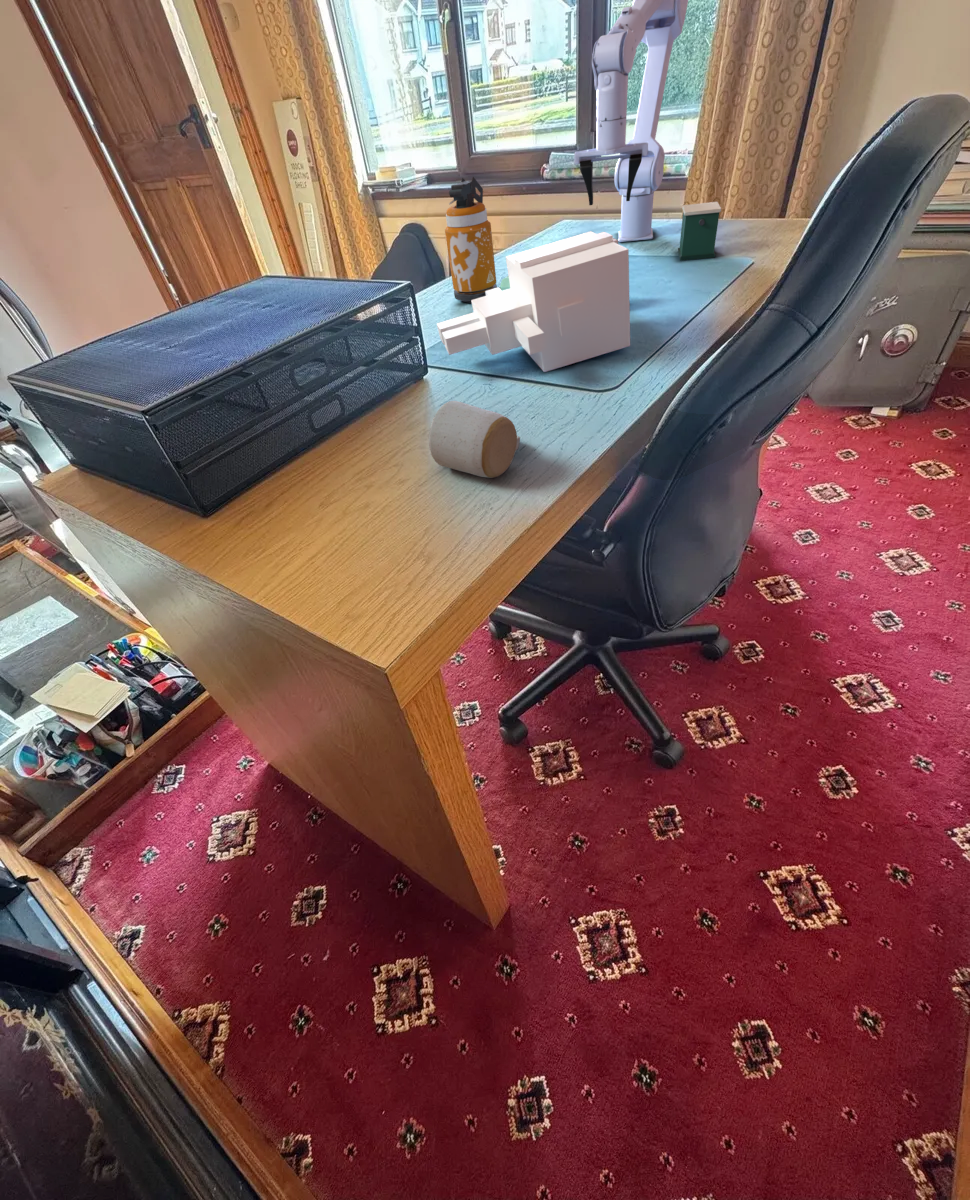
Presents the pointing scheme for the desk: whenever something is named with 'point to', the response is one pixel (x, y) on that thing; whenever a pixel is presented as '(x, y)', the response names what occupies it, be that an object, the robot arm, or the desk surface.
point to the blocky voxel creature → (553, 304)
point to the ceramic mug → (472, 439)
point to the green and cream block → (699, 231)
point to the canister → (469, 243)
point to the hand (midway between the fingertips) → (609, 202)
